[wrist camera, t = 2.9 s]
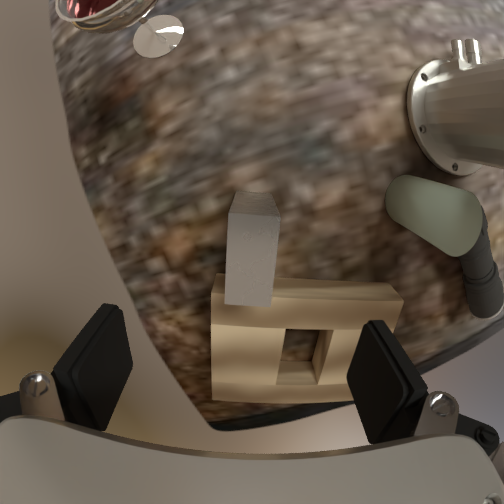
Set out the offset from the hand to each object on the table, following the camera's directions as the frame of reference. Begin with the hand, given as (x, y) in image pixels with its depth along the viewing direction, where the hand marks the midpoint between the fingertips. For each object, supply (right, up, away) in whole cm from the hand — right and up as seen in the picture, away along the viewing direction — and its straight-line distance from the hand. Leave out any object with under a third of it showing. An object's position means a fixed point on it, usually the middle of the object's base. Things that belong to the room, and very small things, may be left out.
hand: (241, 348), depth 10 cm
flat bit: (0, +6, +16) cm, 17 cm away
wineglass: (-8, +24, +9) cm, 27 cm away
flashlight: (+26, +3, +17) cm, 31 cm away
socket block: (+5, -6, +20) cm, 21 cm away
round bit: (+16, +9, +15) cm, 23 cm away
